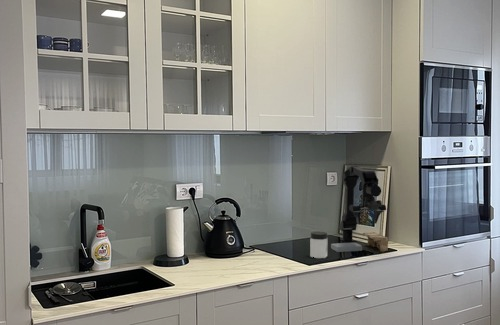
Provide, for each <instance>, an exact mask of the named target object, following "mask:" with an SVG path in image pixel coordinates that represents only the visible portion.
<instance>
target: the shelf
mask: <svg viewBox="0 0 500 325" xmlns="http://www.w3.org/2000/svg"><path fill="white" fill-rule="evenodd" d="M362 235H363V236H366V238H367V246H371V247H373V248H375V247H376V248H378V250H379V252H388V251H389V237H387V236H384V235H382V234H380V233H377V232H376V231H375V232H369V231H368V232H362Z"/></svg>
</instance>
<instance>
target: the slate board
mask: <svg viewBox="0 0 500 325" xmlns="http://www.w3.org/2000/svg"><path fill="white" fill-rule="evenodd" d="M330 249H331V250H333V251H335V252H336V253H343V252H345V253H348V252H359V251H360V252H362V251H363V245H361V244H359V243H357V242H340V243H338V242H337V243H331V244H330Z"/></svg>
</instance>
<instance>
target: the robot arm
mask: <svg viewBox="0 0 500 325" xmlns="http://www.w3.org/2000/svg"><path fill="white" fill-rule="evenodd" d="M341 180H342V184H343V186H344V188H345V190H344V191H345V193H344V197H345V198H344V213H343V215H342V216H341V221H340V223H339V225H338V229H339V230H340V231H341V232H342V238H340V241H343V242H344V243H347V242H355V239H353V236H354V235H353V232H354V231H357V225H361V213H362V212H361V211H362V210H369V211H373V215H374V217H373V220H374V224H377V223H378V220H379V217H380V215H381V214H382V213H384V212H385V211H387V205H386V204H384V203H383V202H382V201H381V200H376V198H375V197H379V196H380V195H381V193H382V189H381V186H379V179H378V176H377V174H376V172H375V170H366V169H364V168H362V167H360V166H359V165H351V166H349V167H348V169H346V170H345V171H343V174H342V176H341ZM358 180H360V181H361V184H360V185H361V188H362V189H361V191H362V192H361V195H360V197H361V204H360V205H358V204H354V203H355V201H354V199H355V198H354V197H355V194H354V193H355V192H354V191H355V188H356V186H357V184H358Z"/></svg>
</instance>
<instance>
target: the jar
mask: <svg viewBox="0 0 500 325" xmlns="http://www.w3.org/2000/svg"><path fill="white" fill-rule="evenodd" d="M309 240H310V241H309V244H310V246H309V247H310V248H309V251H310V253H309V257H311V258H313V257H314V259H326V258H327V257H328V233H327V232H325V231H312V232H310V239H309Z"/></svg>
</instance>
